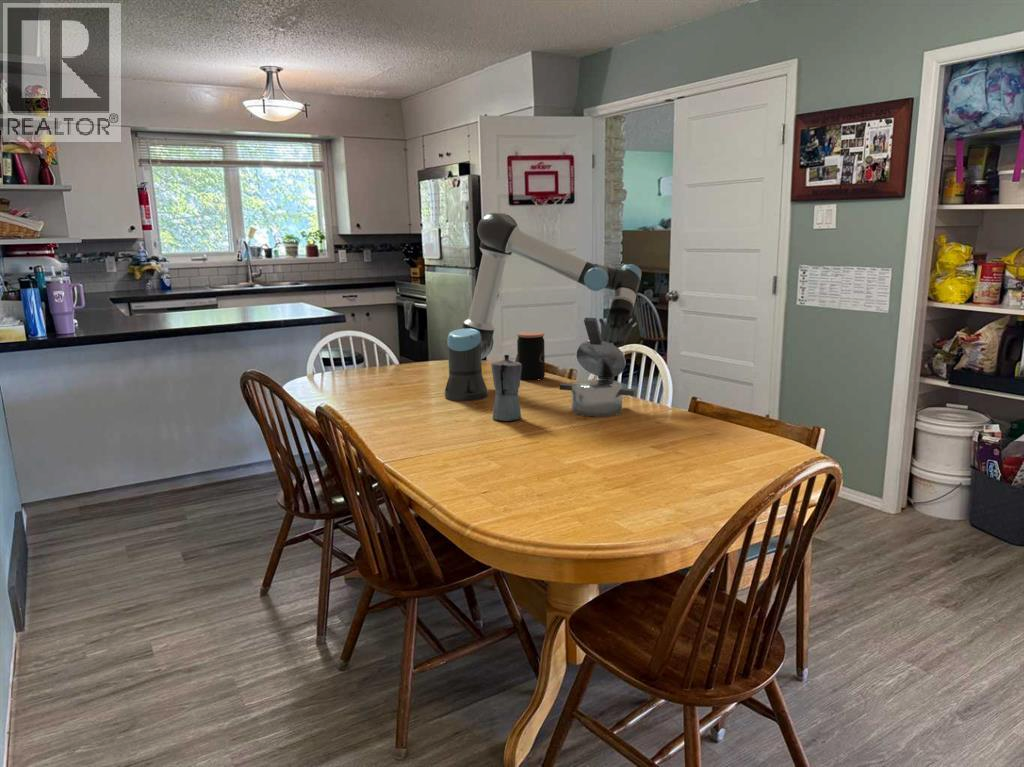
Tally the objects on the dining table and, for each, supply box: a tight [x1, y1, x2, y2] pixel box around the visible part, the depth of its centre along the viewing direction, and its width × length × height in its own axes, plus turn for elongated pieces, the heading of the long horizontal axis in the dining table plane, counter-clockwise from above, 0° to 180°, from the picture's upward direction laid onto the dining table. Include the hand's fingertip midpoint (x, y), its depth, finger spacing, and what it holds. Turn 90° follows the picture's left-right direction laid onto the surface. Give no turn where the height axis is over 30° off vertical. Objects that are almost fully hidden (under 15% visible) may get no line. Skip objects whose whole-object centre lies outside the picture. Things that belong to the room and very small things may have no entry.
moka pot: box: [490, 354, 522, 422], centre depth 213 cm, size 10×15×20 cm, turn 174°
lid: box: [576, 317, 627, 381], centre depth 220 cm, size 16×26×2 cm
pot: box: [558, 378, 637, 418], centre depth 223 cm, size 25×18×9 cm
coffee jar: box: [516, 331, 546, 381], centre depth 274 cm, size 11×11×18 cm
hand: (607, 362), depth 225 cm, fingers closed
